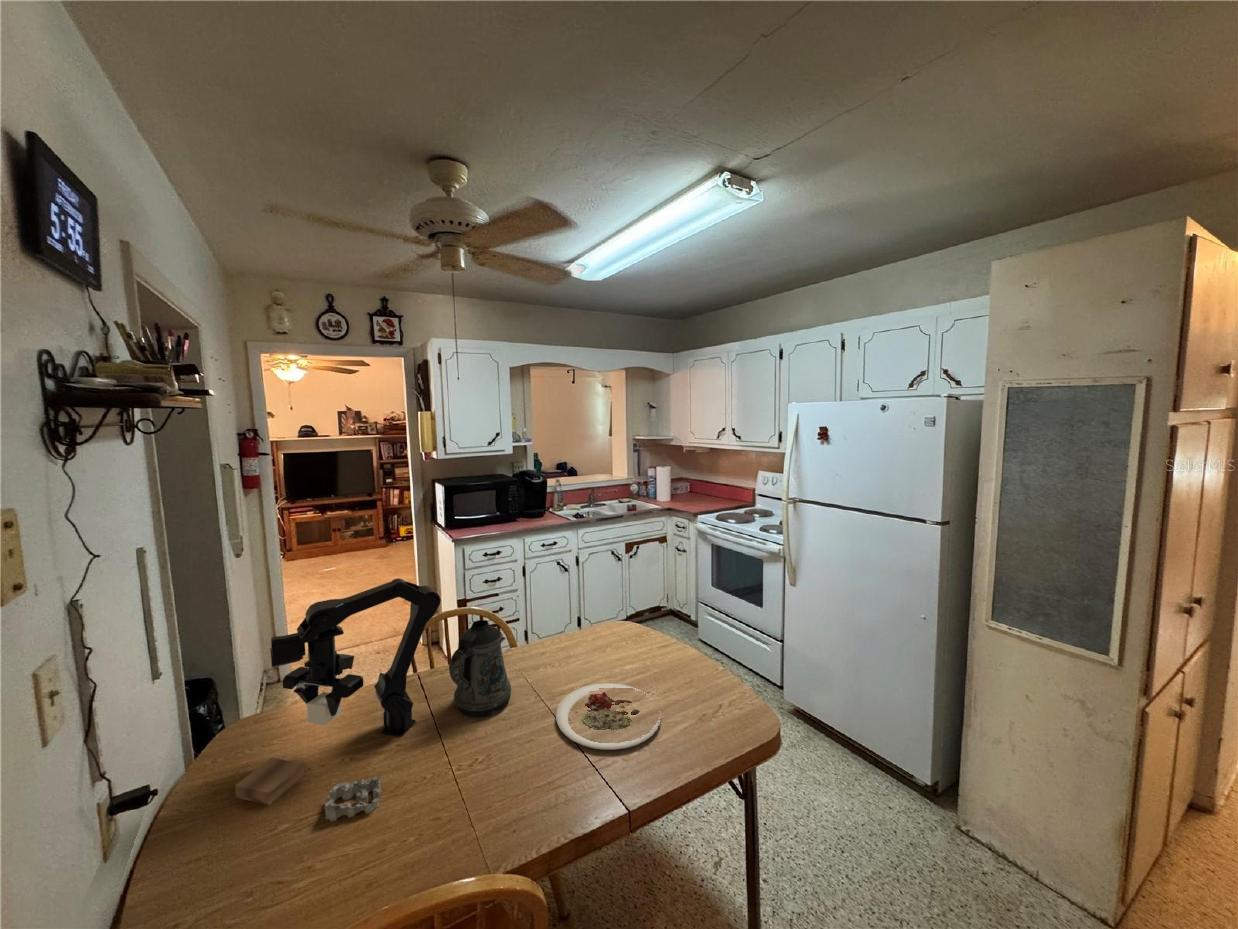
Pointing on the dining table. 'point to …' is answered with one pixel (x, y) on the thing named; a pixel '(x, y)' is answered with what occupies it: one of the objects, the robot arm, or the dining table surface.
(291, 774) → the walnut base
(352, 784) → the egg carton
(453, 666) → the beer stein
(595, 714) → the plated food
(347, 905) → the dining table surface
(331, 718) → the cream block
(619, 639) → the dining table surface
